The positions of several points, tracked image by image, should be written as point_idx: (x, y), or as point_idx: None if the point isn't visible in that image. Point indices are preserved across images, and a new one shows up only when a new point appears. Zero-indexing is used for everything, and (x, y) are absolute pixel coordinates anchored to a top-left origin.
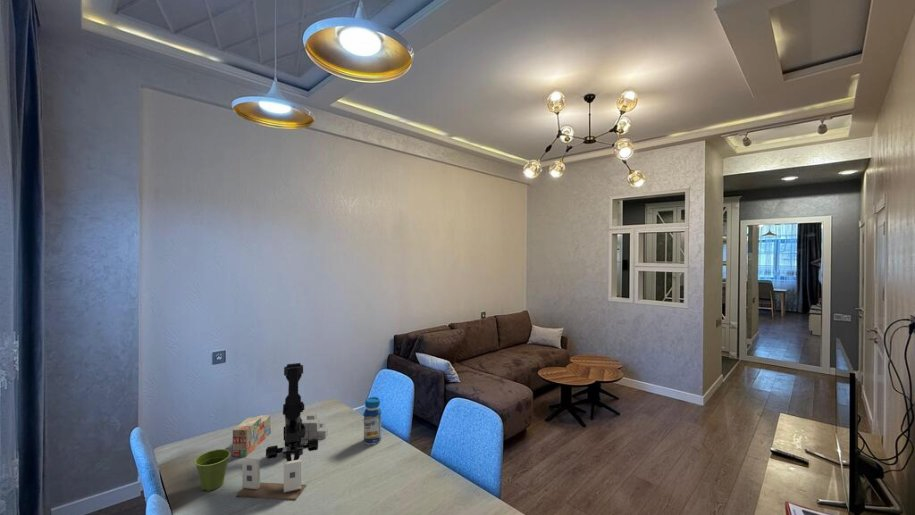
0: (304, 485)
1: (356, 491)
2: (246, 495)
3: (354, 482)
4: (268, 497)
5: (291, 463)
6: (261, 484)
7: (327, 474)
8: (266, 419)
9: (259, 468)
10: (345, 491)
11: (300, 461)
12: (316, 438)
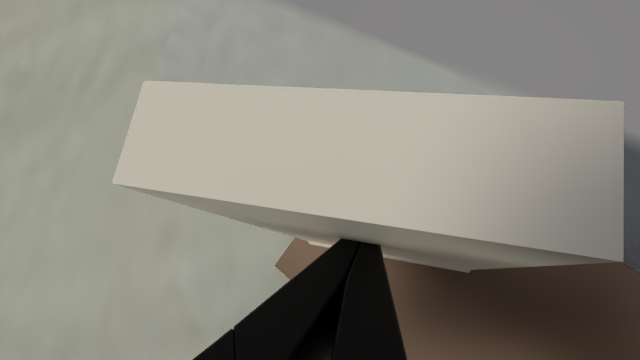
0: (288, 264)
1: (70, 56)
2: None
3: (39, 140)
4: (620, 265)
5: (362, 98)
6: None
7: (109, 337)
8: None
9: None
10: (107, 80)
11: (156, 85)
12: None
